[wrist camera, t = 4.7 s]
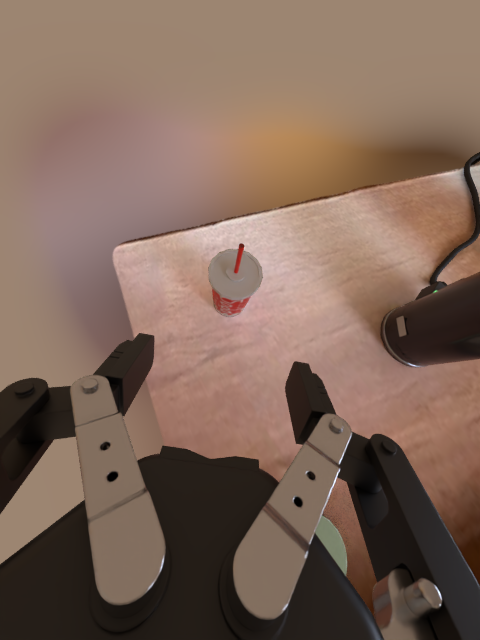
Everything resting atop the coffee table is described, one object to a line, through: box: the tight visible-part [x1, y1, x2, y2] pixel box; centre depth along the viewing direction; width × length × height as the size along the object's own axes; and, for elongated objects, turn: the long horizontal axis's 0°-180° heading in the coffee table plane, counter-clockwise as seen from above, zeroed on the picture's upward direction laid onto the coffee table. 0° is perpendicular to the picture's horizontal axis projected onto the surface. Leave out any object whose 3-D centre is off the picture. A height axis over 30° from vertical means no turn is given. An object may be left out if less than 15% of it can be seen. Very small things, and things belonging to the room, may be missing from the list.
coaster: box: [315, 515, 347, 576], centre depth 26 cm, size 9×9×1 cm
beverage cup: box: [208, 244, 263, 317], centre depth 28 cm, size 6×6×14 cm
